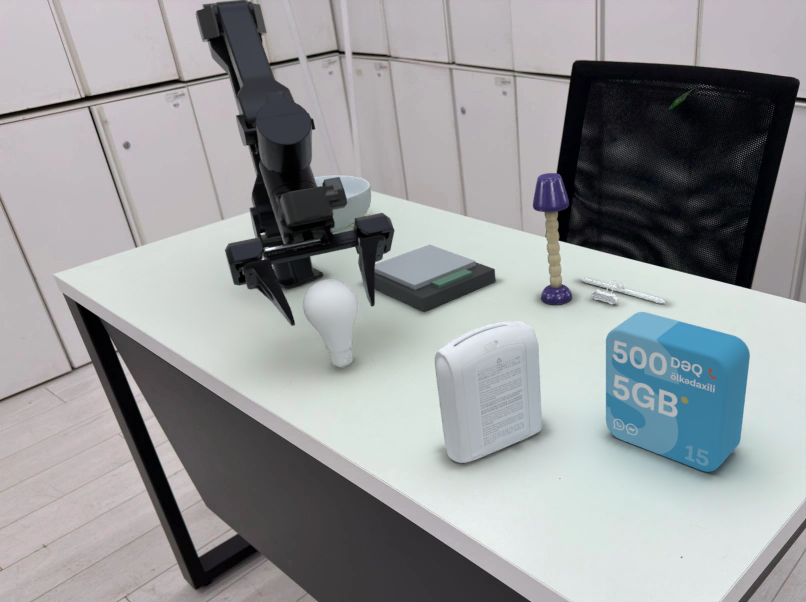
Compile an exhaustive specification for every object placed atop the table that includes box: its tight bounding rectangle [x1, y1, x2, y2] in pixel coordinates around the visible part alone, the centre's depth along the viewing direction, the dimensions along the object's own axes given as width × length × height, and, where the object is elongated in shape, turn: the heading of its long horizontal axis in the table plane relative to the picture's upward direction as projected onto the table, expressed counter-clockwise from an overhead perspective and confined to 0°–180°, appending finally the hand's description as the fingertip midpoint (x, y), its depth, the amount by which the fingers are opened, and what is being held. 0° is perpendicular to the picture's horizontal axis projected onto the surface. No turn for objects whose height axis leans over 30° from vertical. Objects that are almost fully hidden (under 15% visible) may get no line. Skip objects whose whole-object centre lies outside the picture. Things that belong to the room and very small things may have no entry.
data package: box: [605, 311, 751, 473], centre depth 68 cm, size 12×4×12 cm, turn 50°
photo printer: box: [434, 320, 543, 464], centre depth 70 cm, size 10×4×12 cm, turn 123°
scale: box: [375, 244, 497, 312], centre depth 108 cm, size 15×13×3 cm
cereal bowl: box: [314, 174, 372, 234], centre depth 132 cm, size 17×17×7 cm
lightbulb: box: [302, 278, 359, 369], centre depth 86 cm, size 6×6×11 cm
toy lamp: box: [532, 172, 573, 305], centre depth 97 cm, size 5×5×17 cm
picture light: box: [579, 277, 666, 305], centre depth 100 cm, size 14×4×2 cm, turn 48°
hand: (333, 314), depth 84 cm, fingers open, 9 cm apart
